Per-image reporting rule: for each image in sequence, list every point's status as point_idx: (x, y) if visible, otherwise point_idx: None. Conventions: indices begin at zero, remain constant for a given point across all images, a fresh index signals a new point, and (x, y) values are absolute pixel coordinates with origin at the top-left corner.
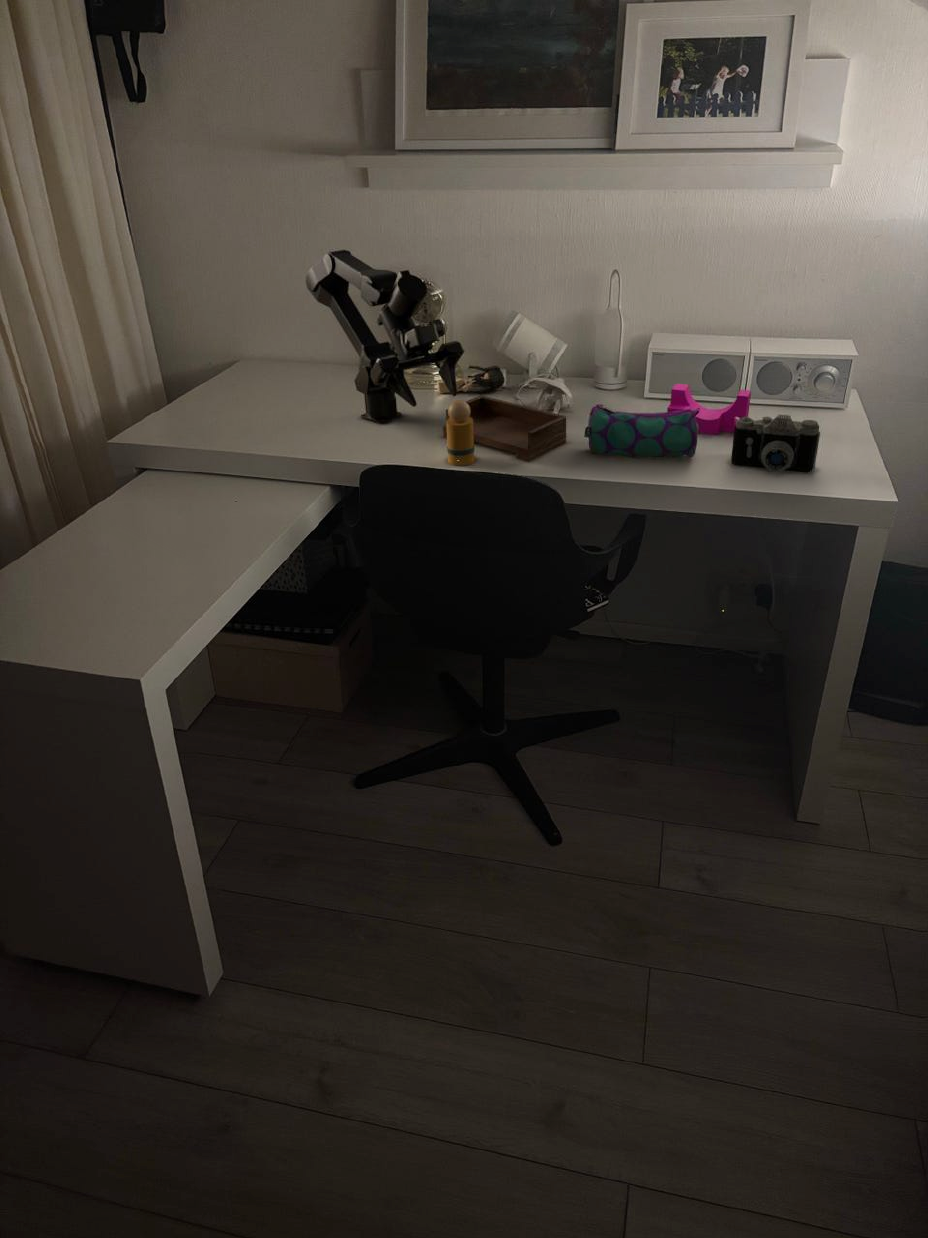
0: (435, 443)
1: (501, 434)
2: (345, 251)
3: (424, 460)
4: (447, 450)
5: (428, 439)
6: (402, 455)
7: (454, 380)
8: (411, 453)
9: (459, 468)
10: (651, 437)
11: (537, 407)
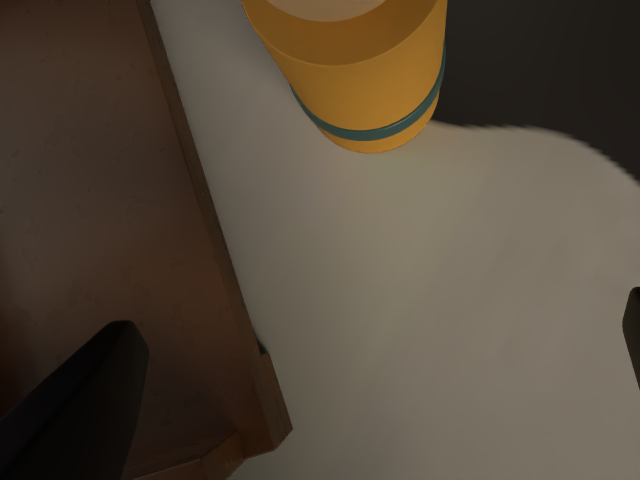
0: (371, 376)
1: (90, 127)
2: None
3: (538, 191)
4: (441, 81)
5: (376, 455)
6: (618, 328)
7: (9, 424)
8: (557, 325)
9: None
10: None
11: None
